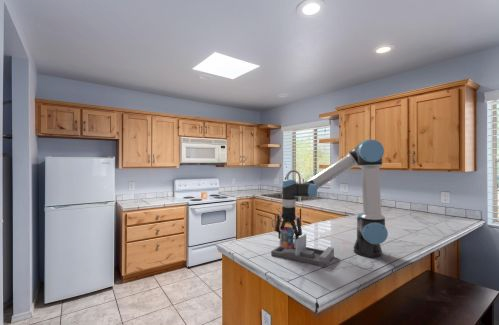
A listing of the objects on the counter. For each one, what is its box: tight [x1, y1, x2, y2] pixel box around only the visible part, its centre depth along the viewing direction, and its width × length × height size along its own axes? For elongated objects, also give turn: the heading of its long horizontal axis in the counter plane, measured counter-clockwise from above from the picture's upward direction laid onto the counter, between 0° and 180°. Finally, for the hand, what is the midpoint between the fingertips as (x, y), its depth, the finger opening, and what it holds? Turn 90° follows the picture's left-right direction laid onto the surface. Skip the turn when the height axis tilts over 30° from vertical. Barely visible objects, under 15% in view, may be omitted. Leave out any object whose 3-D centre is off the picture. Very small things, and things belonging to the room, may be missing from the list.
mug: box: [279, 226, 295, 249], centre depth 146 cm, size 12×9×11 cm
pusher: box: [296, 233, 314, 259], centre depth 141 cm, size 7×14×10 cm, turn 148°
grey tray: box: [270, 245, 335, 269], centre depth 142 cm, size 30×17×5 cm, turn 58°
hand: (288, 245), depth 147 cm, fingers closed on mug, 8 cm apart
